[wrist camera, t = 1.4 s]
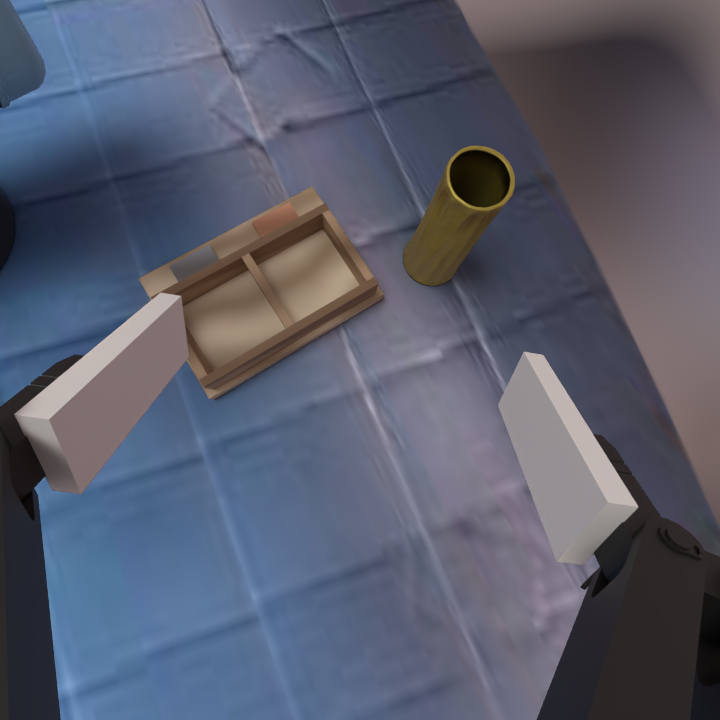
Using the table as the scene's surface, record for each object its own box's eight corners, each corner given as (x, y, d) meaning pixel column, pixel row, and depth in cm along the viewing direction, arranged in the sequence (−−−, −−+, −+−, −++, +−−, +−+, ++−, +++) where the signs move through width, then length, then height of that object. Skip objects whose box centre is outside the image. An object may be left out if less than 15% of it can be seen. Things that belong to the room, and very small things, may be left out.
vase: (414, 293, 40) (458, 226, 26) (394, 242, 41) (426, 151, 27) (465, 276, 41) (534, 202, 27) (445, 227, 42) (502, 130, 28)
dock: (145, 283, 38) (121, 266, 34) (313, 194, 41) (310, 167, 37) (214, 399, 37) (198, 397, 33) (382, 299, 40) (388, 283, 36)
